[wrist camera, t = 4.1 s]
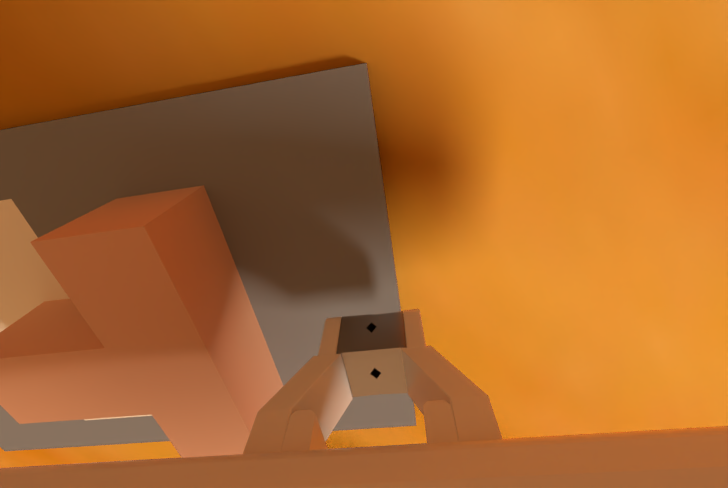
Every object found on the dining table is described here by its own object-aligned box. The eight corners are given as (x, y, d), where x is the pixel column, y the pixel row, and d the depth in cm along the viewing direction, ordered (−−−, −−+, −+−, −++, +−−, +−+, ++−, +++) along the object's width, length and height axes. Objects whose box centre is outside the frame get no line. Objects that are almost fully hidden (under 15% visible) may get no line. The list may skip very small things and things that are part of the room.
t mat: (366, 62, 9) (365, 62, 9) (414, 413, 16) (416, 425, 15) (-261, 178, 12) (-292, 183, 11) (15, 440, 18) (5, 451, 18)
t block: (203, 185, 10) (143, 226, 8) (288, 398, 15) (268, 469, 12) (-18, 218, 11) (-141, 265, 9) (126, 410, 16) (75, 479, 13)
